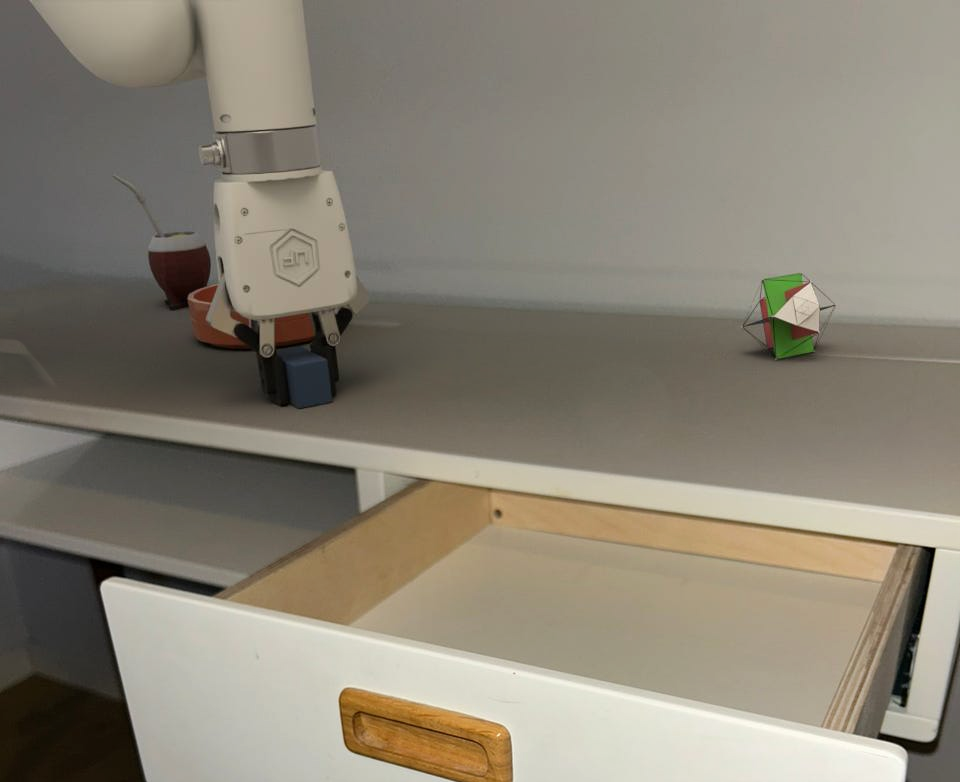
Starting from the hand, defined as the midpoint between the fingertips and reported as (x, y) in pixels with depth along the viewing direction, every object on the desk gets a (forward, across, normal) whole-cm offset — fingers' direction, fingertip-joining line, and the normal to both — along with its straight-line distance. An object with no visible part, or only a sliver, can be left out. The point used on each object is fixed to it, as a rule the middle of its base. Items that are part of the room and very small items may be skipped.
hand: (302, 394), depth 89 cm
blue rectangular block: (0, 0, 0) cm, 0 cm away
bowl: (0, +6, +26) cm, 27 cm away
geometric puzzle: (0, +39, -15) cm, 42 cm away
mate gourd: (0, +3, +49) cm, 49 cm away
